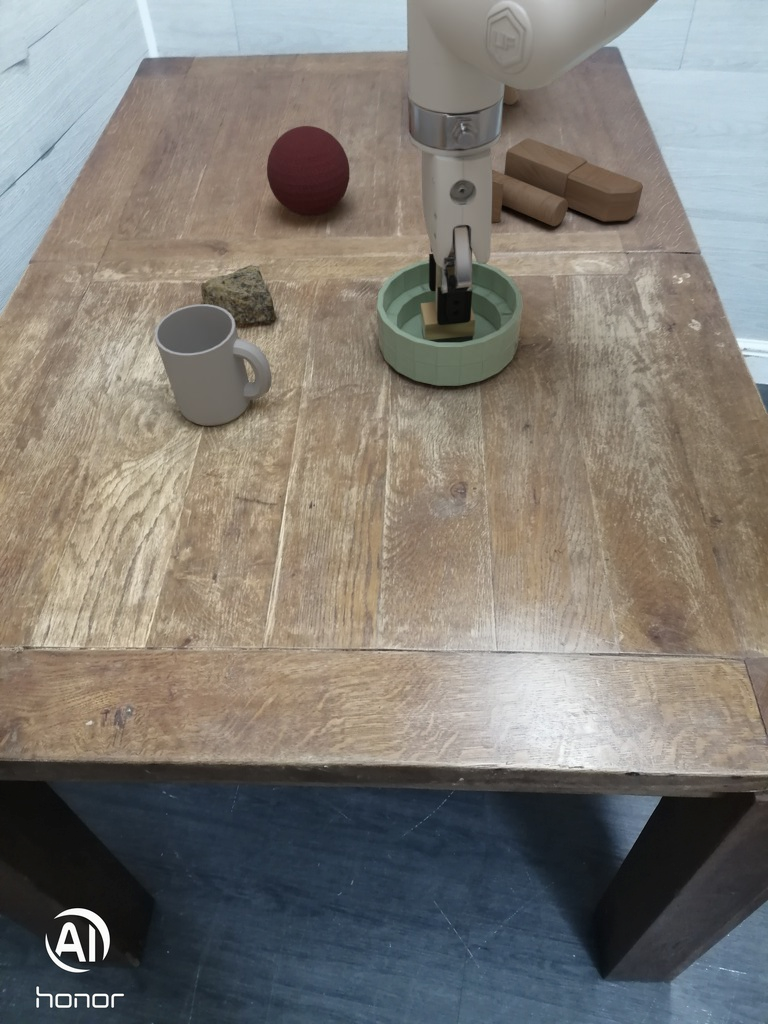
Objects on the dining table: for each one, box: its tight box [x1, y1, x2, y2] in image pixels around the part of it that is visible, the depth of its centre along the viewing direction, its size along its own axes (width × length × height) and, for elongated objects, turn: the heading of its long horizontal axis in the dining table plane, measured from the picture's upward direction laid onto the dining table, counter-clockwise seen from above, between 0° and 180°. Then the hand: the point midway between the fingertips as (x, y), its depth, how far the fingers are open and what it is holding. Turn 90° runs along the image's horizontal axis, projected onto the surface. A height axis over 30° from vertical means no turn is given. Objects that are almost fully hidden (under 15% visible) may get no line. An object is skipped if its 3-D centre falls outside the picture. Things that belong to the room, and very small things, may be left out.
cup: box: [154, 303, 273, 427], centre depth 72 cm, size 7×10×9 cm
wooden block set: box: [491, 137, 644, 227], centre depth 91 cm, size 17×6×18 cm
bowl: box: [376, 259, 524, 387], centre depth 78 cm, size 14×14×6 cm
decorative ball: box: [266, 125, 350, 217], centre depth 93 cm, size 10×10×10 cm
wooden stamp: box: [420, 252, 475, 342], centre depth 75 cm, size 5×4×10 cm
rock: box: [200, 264, 277, 324], centre depth 83 cm, size 7×8×4 cm
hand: (449, 303), depth 76 cm, fingers open, 4 cm apart
